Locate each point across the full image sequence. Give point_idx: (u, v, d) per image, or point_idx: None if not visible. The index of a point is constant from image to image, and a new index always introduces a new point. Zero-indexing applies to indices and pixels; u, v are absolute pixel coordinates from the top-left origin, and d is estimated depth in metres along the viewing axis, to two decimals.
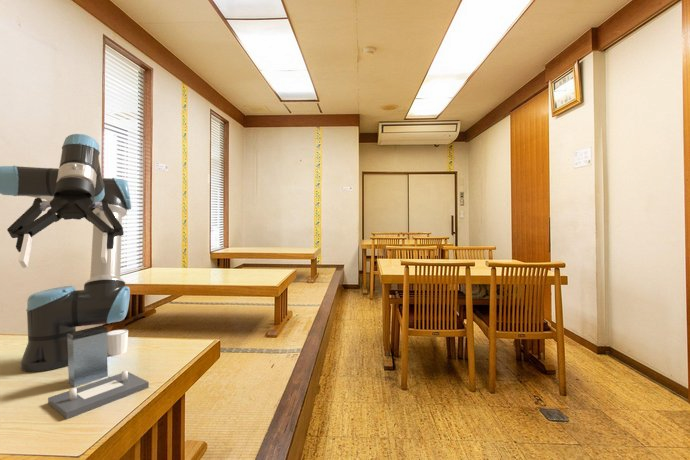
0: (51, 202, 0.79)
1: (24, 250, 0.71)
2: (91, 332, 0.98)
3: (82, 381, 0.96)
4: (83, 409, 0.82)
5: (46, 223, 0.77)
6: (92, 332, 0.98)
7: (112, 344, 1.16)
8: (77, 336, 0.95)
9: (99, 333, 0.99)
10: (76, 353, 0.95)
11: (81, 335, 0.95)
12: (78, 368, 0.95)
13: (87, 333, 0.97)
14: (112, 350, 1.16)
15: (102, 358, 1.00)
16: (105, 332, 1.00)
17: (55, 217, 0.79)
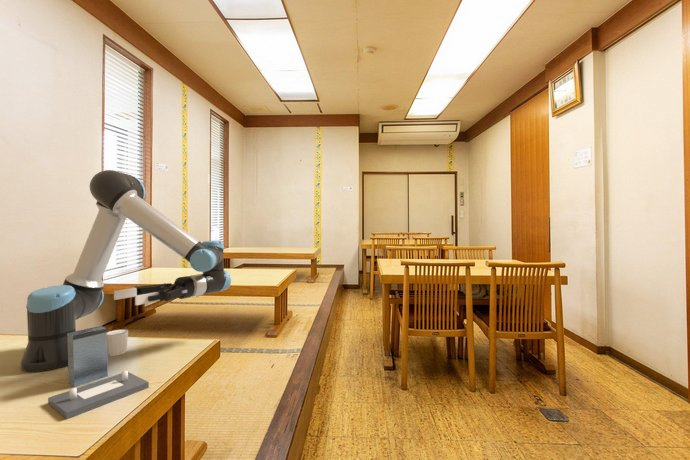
0: None
1: None
2: (91, 332, 0.98)
3: (82, 381, 0.96)
4: (83, 409, 0.82)
5: None
6: (92, 332, 0.98)
7: (112, 344, 1.16)
8: (77, 336, 0.95)
9: (99, 333, 0.99)
10: (77, 353, 0.95)
11: (81, 335, 0.96)
12: (78, 368, 0.95)
13: (87, 333, 0.97)
14: (112, 350, 1.16)
15: (102, 358, 1.00)
16: (105, 332, 1.00)
17: None
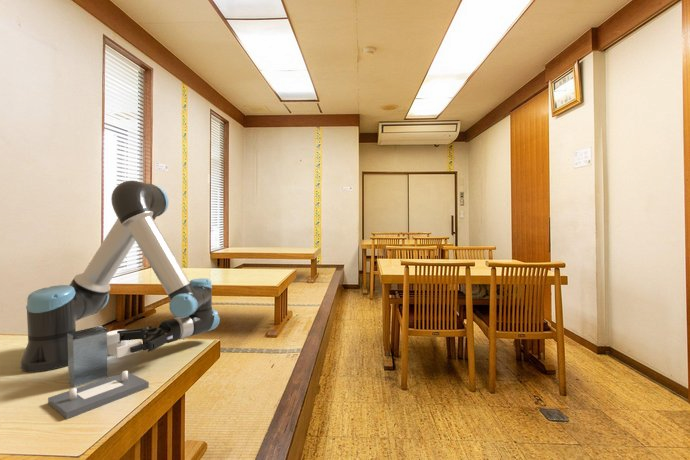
0: None
1: None
2: (91, 332, 0.98)
3: (82, 381, 0.96)
4: (83, 409, 0.82)
5: None
6: (92, 332, 0.98)
7: (112, 344, 1.16)
8: (77, 336, 0.95)
9: (99, 333, 0.99)
10: (77, 353, 0.95)
11: (81, 335, 0.95)
12: (78, 368, 0.95)
13: (87, 333, 0.97)
14: (112, 350, 1.16)
15: (102, 358, 1.00)
16: (105, 332, 1.00)
17: None
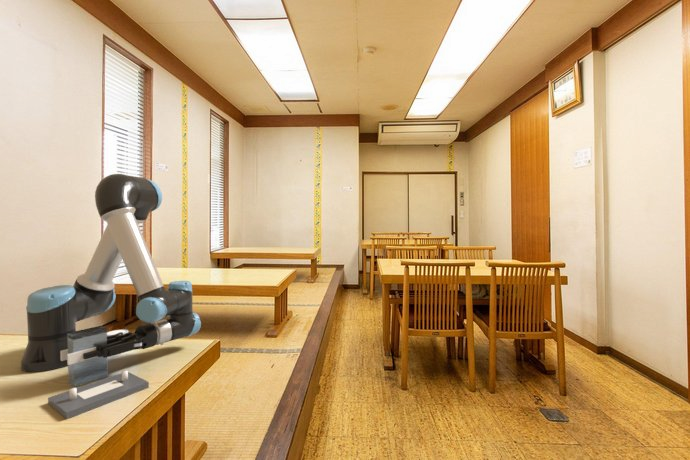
0: None
1: None
2: (91, 332, 0.98)
3: (82, 381, 0.96)
4: (83, 409, 0.82)
5: None
6: (92, 332, 0.98)
7: None
8: (77, 336, 0.95)
9: (99, 333, 0.99)
10: None
11: (81, 335, 0.95)
12: (78, 368, 0.95)
13: (87, 333, 0.97)
14: None
15: (102, 358, 1.00)
16: (105, 332, 1.00)
17: None
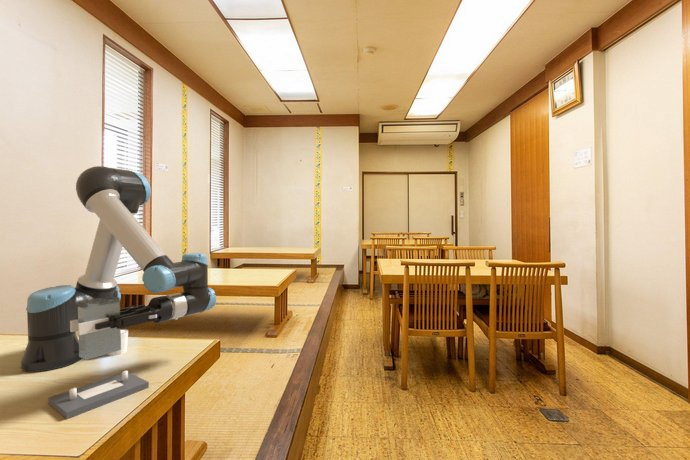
0: None
1: None
2: (103, 301, 0.90)
3: (94, 354, 0.88)
4: (83, 409, 0.82)
5: None
6: (104, 301, 0.90)
7: None
8: (89, 304, 0.87)
9: (112, 303, 0.92)
10: None
11: (93, 304, 0.88)
12: (90, 339, 0.88)
13: (99, 302, 0.89)
14: None
15: (115, 330, 0.92)
16: (118, 302, 0.93)
17: None
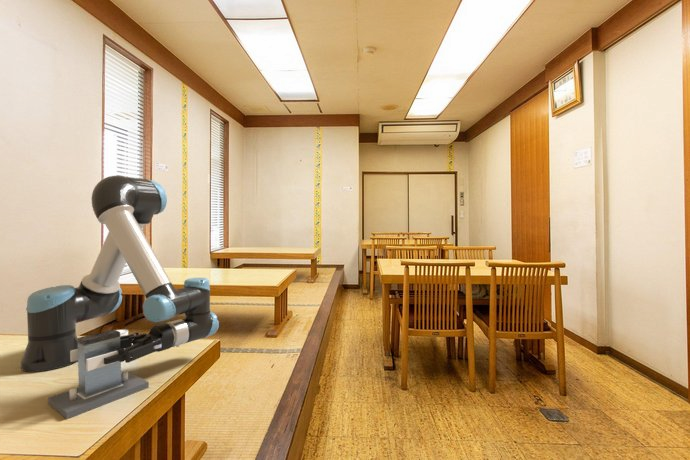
0: None
1: None
2: (103, 337, 0.89)
3: (94, 391, 0.87)
4: (83, 409, 0.82)
5: None
6: (105, 337, 0.89)
7: None
8: (88, 341, 0.86)
9: (112, 338, 0.90)
10: None
11: (93, 340, 0.87)
12: (90, 376, 0.86)
13: (99, 338, 0.88)
14: None
15: (115, 365, 0.91)
16: (118, 336, 0.91)
17: None
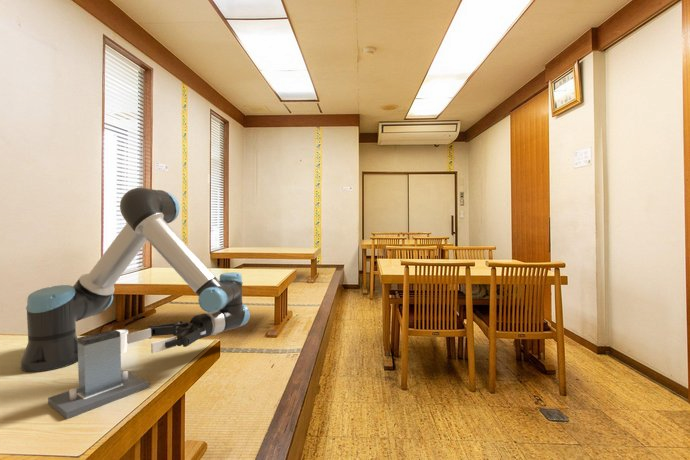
0: None
1: None
2: (103, 337, 0.89)
3: (94, 391, 0.87)
4: (83, 409, 0.82)
5: None
6: (105, 337, 0.89)
7: None
8: (88, 341, 0.86)
9: (112, 338, 0.90)
10: (88, 360, 0.86)
11: (93, 340, 0.87)
12: (90, 376, 0.86)
13: (99, 338, 0.88)
14: None
15: (115, 365, 0.91)
16: (118, 336, 0.91)
17: None
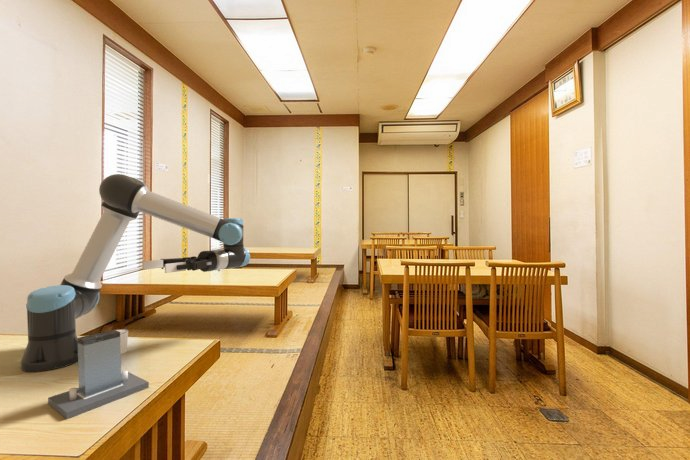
0: None
1: (172, 271, 1.10)
2: (103, 337, 0.89)
3: (94, 391, 0.87)
4: (83, 409, 0.82)
5: None
6: (105, 337, 0.89)
7: None
8: (88, 341, 0.86)
9: (112, 338, 0.90)
10: (88, 360, 0.86)
11: (93, 340, 0.87)
12: (90, 376, 0.86)
13: (99, 338, 0.88)
14: None
15: (115, 365, 0.91)
16: (118, 336, 0.91)
17: None
